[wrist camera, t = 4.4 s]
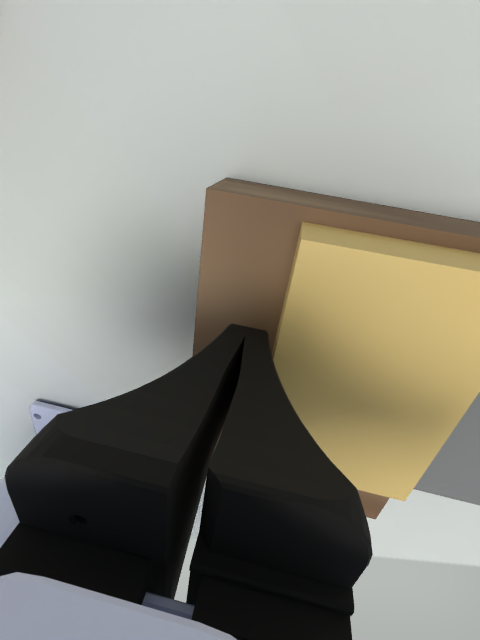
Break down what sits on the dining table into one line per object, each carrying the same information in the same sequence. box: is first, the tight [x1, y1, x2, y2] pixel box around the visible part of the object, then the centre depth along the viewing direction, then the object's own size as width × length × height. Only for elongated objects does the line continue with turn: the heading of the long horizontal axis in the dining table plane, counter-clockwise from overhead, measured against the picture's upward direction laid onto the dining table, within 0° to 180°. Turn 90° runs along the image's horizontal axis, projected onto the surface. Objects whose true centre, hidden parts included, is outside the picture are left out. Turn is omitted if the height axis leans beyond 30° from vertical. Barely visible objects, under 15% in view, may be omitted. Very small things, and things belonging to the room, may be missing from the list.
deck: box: [193, 178, 480, 519], centre depth 14 cm, size 14×10×3 cm
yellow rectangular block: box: [272, 222, 480, 501], centre depth 11 cm, size 9×6×2 cm, turn 172°
